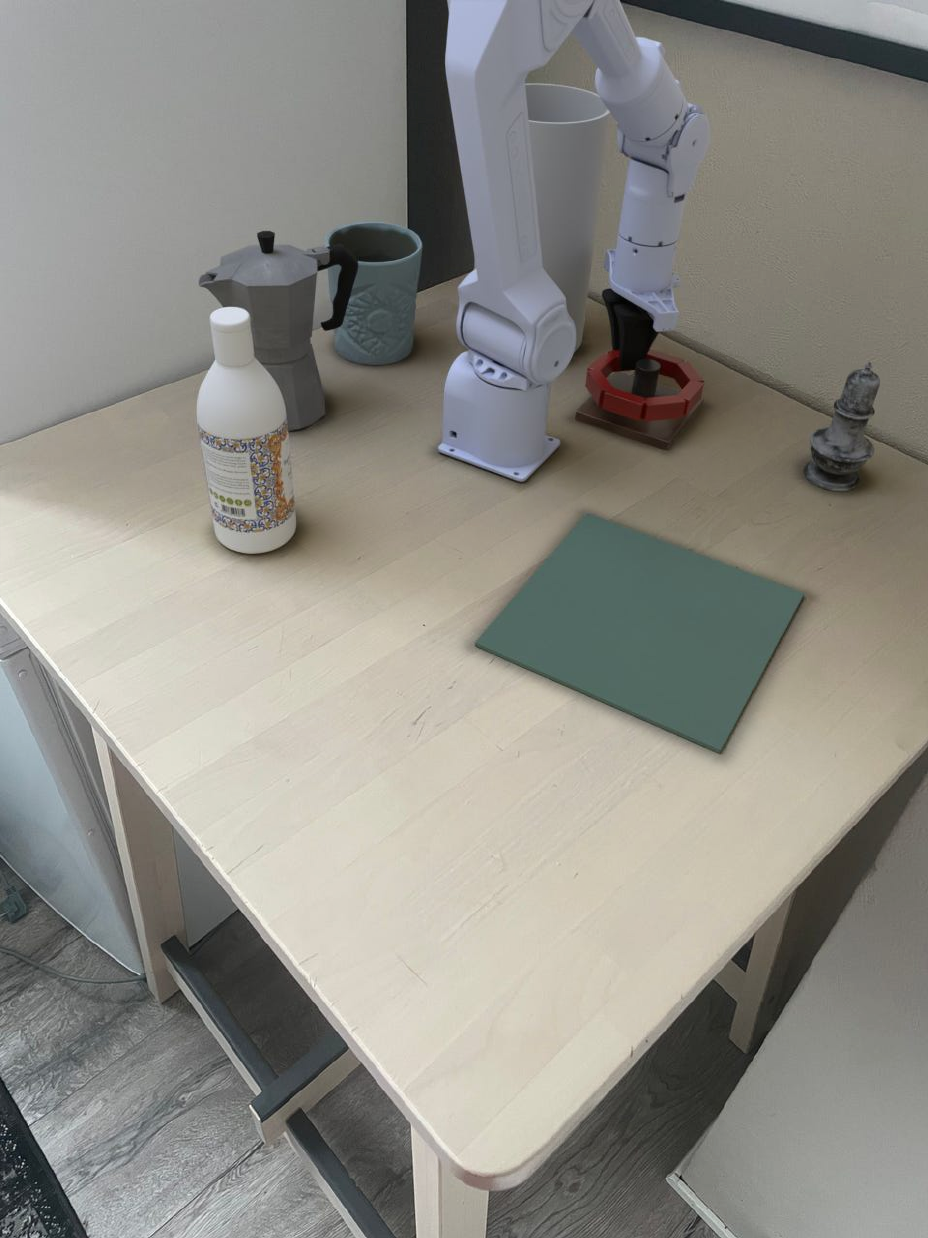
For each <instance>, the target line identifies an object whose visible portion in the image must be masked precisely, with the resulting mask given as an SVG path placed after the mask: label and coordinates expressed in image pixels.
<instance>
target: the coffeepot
mask: <svg viewBox="0 0 928 1238" xmlns="http://www.w3.org/2000/svg"><path fill="white" fill-rule="evenodd" d="M256 233H257V234H256V236H257V240H258V244H250V245H247V246H244V247H242V248H239V249H236V250H235V251H231V252H229V253H227V254H224V255H222V256H220V263H219V265H217V266H216V267H214V268H211V269H208V270H207V271H205V273H204V274H201V275H200V277H199V278H198V286H199V287H200V288H204V289H206V290H208V291H209V292H210V294H212V296H214V297H215V299H216V300H217V301H218V302H219V304H220V305H221V306H222V308H224V307H238V308H242V309H244V310H246V311H247V312H248V313H249V315H250V325H251V332H252V339H253V348H254V357H255V358H256V359H257V360H258V361H259V362H260V364H261V365H262V366H263V367H264V368H265V369H266V370H267V371H268V373H269V374H270V375H271V376H272V378H273V379H274V380H275V382H276V384H277V385H278V387H279V389H280V391H281V394H282V396H283V400H284V403H285V408H286V412H287V423H288V432H293V431H299V430H301V429H304V428H307V427H310V426H312V425H313V424H315V423H317V422H318V421H319V420H320V419H321V418H322V417H323V416H325V415H326V401H325V400H326V399H325V392H324V388H323V384H322V380H321V376H320V371H319V367H318V364H317V359H316V354H315V351H314V347H313V344H312V342H311V338H312V336H313V328H314V326H313V325H314V316H315V315H314V314H315V303H316V289H317V281H318V280H317V279H318V274H319V273H318V272H320V271H324V270H328V269H327V268H329V267H332V266H334V265H340V266H341V271H340V273H339V277H338V286H337V293H336V295H335V298H334V300H333V316H332V315H331V317H330V318H329V319H328V320H325V321H321V322H320V326H321V328H322V330H323V331H325V332H327V331H332V330H333V331H334V329H336V328H339V327H341V325H342V324H343V321H344V317H345V314H346V310H347V306H348V302H349V299H350V296H351V292H352V288H353V284H354V281H355V277H356V274H357V271H358V261H357V259H356V257H355V256H353V255H352V254H351V253H350V252H349V251H348V250H347V249H346V248H345V247H344V246H343V245H341V244H337V245H332V246H328V247H325V245H322V246H321V245H320V246H317V247H311V248H307V249H306V250H304V249H302V248H298V247H296V246H294V245H292V244H275V237H276V233H275V231H271V230H262V231H258V232H256Z"/></svg>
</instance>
